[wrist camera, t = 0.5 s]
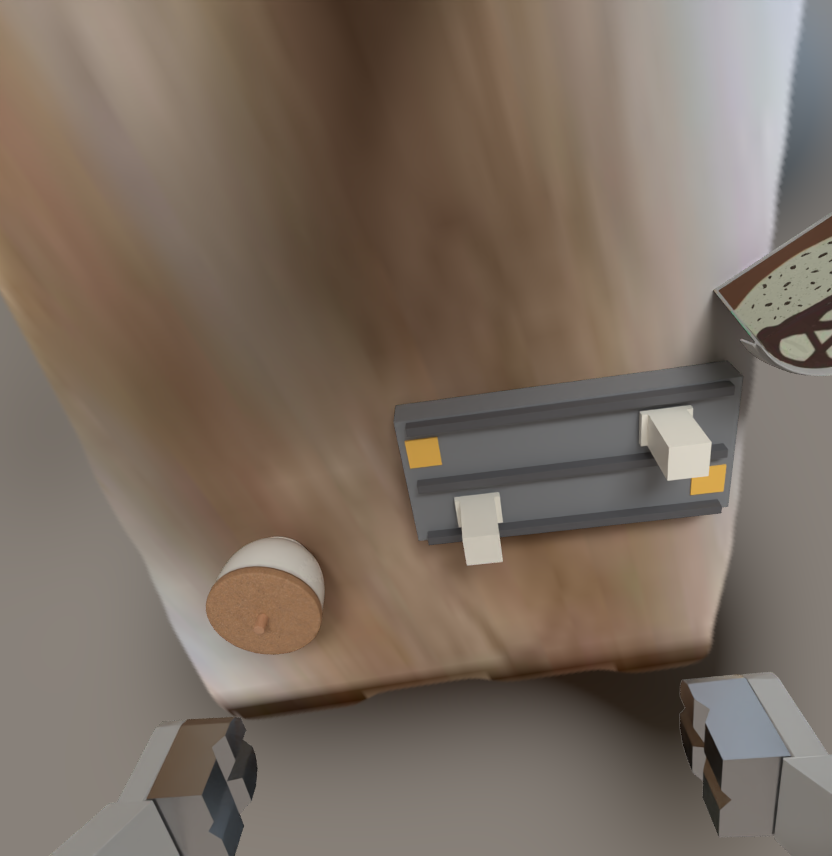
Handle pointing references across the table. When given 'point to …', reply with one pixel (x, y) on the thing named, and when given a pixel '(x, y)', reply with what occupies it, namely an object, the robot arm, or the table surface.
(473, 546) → the tab
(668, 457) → the tab
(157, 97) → the table surface
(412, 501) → the switch board
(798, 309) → the food container
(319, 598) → the lidded jar
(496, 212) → the table surface
